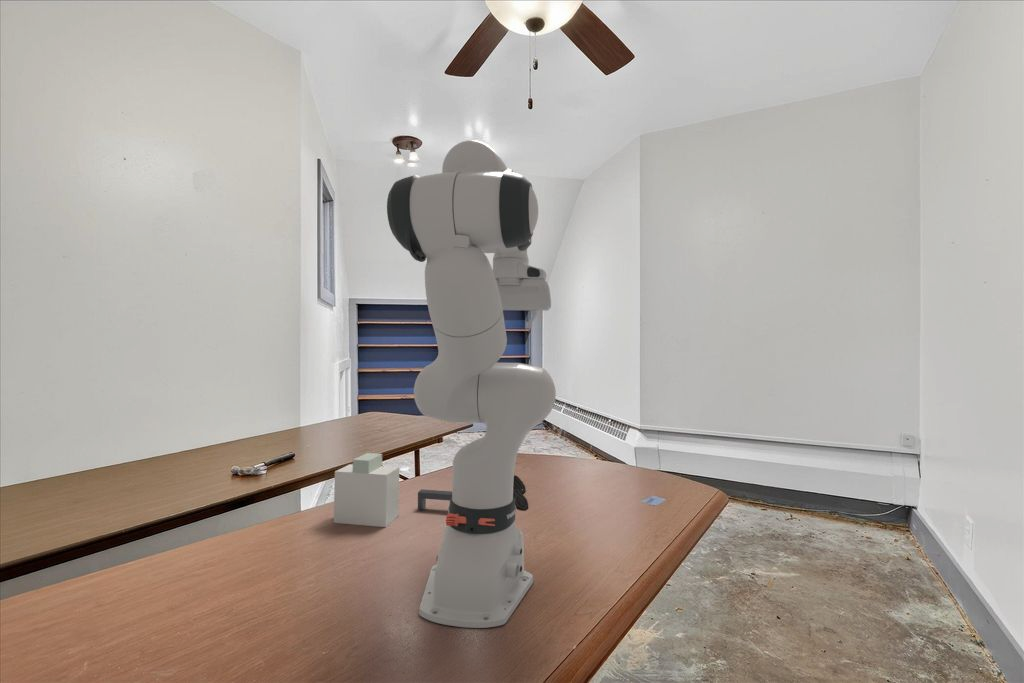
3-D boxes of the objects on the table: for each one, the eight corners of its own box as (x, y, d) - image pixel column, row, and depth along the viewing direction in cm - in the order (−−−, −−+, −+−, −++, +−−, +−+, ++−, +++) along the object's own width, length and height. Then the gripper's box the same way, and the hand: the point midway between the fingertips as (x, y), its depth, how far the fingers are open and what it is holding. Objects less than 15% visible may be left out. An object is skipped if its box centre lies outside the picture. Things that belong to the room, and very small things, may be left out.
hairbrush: (508, 501, 120) (494, 470, 144) (507, 516, 120) (494, 482, 144) (540, 500, 121) (521, 470, 146) (539, 514, 121) (520, 481, 146)
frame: (459, 509, 120) (459, 492, 120) (456, 513, 118) (456, 495, 118) (421, 506, 122) (421, 489, 122) (417, 510, 120) (417, 492, 120)
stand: (398, 516, 115) (399, 454, 115) (385, 527, 108) (387, 461, 108) (349, 512, 117) (350, 452, 117) (333, 522, 110) (334, 458, 110)
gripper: (466, 270, 114) (465, 327, 114) (551, 270, 112) (550, 328, 112) (471, 274, 121) (470, 328, 120) (551, 274, 118) (551, 329, 118)
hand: (509, 328), depth 116 cm, fingers open, 8 cm apart
